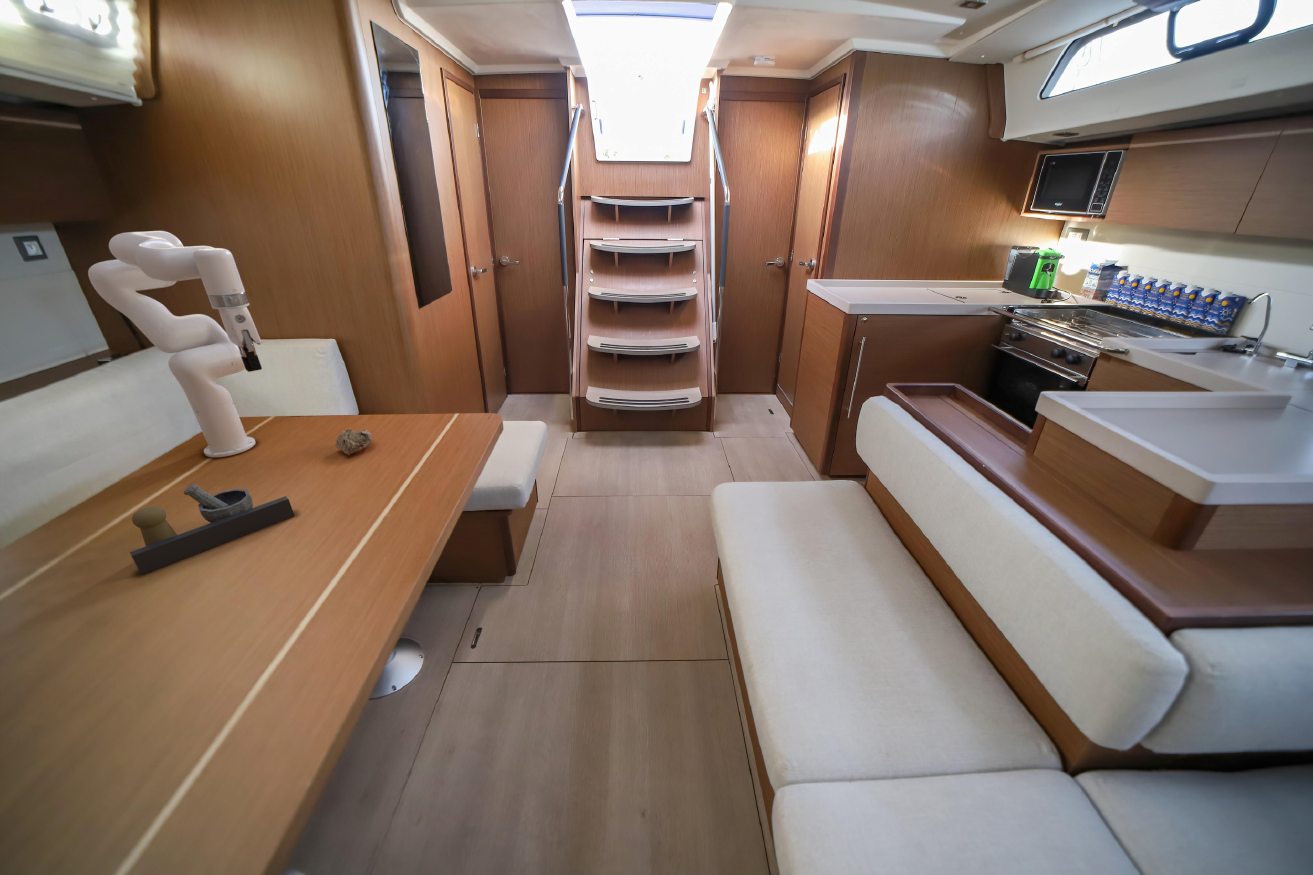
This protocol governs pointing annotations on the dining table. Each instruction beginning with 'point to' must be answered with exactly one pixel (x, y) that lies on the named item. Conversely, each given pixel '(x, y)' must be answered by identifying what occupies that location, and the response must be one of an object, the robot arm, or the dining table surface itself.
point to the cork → (153, 524)
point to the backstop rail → (211, 535)
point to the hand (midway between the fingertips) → (254, 369)
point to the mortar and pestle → (220, 502)
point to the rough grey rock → (353, 441)
